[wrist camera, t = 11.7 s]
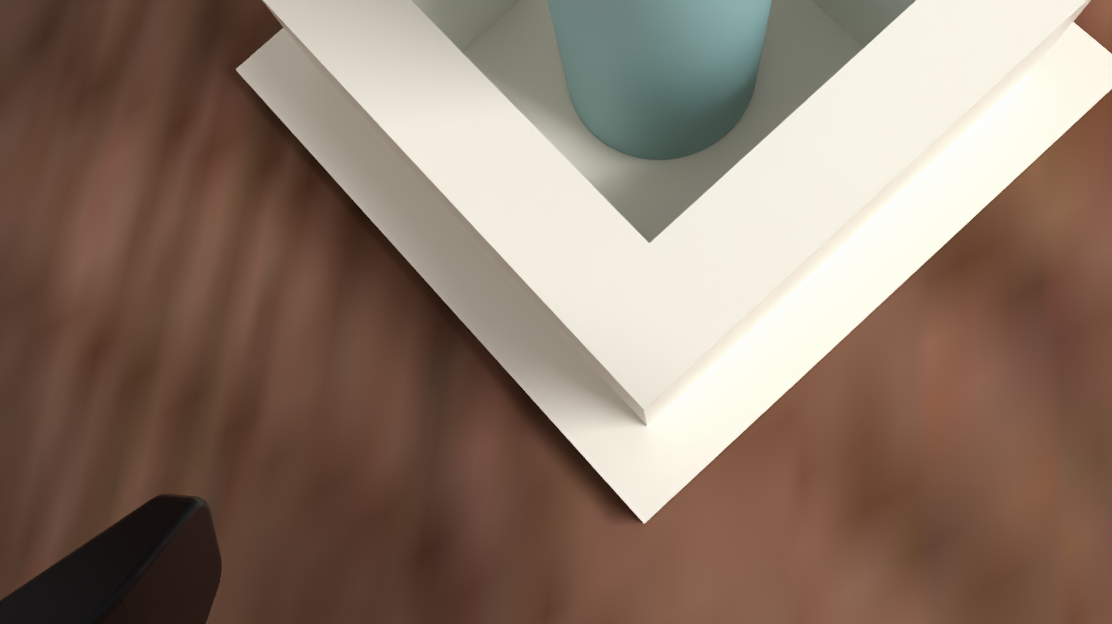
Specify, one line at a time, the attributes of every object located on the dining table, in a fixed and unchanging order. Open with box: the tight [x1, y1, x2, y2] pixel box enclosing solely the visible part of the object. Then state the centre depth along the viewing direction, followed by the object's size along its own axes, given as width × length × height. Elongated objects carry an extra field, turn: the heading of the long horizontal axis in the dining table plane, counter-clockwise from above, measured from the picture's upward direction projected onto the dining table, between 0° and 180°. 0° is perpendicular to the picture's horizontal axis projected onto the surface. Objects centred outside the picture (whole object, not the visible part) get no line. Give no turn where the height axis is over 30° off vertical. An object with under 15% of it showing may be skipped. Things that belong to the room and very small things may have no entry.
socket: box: [235, 0, 1112, 524], centre depth 18 cm, size 12×12×4 cm
